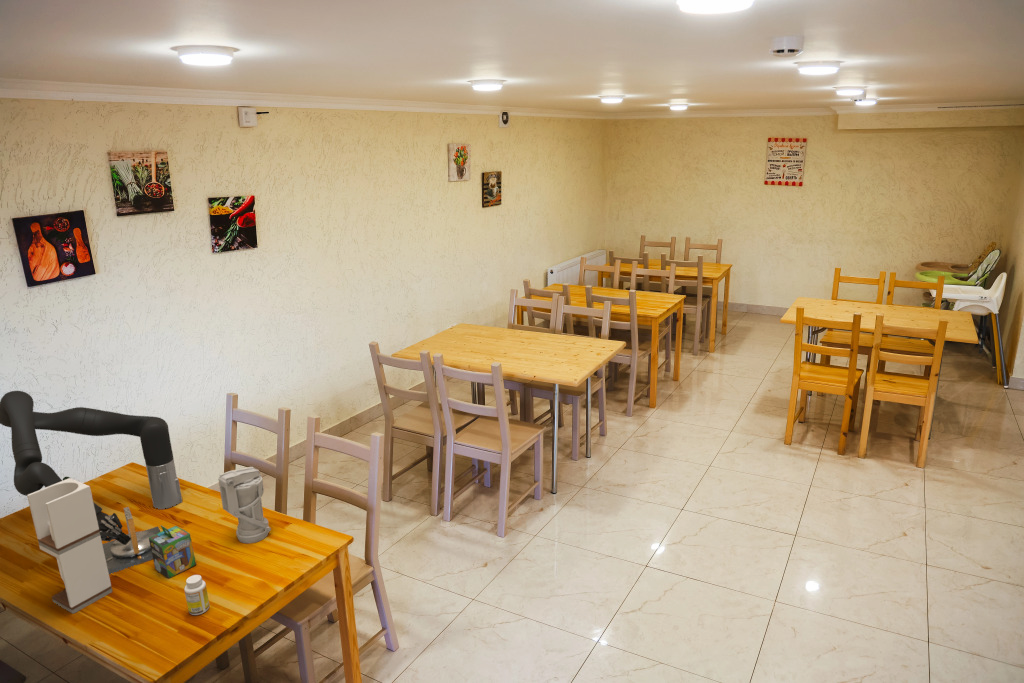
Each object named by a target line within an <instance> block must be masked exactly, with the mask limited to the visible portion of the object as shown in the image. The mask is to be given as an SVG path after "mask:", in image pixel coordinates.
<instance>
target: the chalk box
mask: <svg viewBox="0 0 1024 683" xmlns="http://www.w3.org/2000/svg"><path fill="white" fill-rule="evenodd" d="M160 528H161V529H162V531H161V532H159V533H158V534H156V535H154V536H151V537H149V542H150V547H151V551H152V556H153V559H152V560H153V565H154V569H155V570H156V571H157V572H158V573H160V574H161V575H163V576H164V577H165V578H167V579H168V580H169V579H171V578H173V577H175V576H176V575H179V574H181V573H182V572H184V571H186V570H188V569H190V568H192V567H194V566H196V565H197V561H196V557H195V552H194V548H193V543H192V538H191V537H192V536H191V533H190V532H188V531H186V530H185V529H183V528H182V527H179V526H177V525H175V526H172V527H169V528H166V527H165V526H163V525H162V524H161V525H160Z"/></svg>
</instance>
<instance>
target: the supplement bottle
mask: <svg viewBox="0 0 1024 683" xmlns="http://www.w3.org/2000/svg"><path fill="white" fill-rule="evenodd" d="M185 581H186V582H185V583H186V585H185V586H184V589H183V590H184V595H185V600H186V605H187V606H186V607H187V611H188V613H189V614H190V615H192V616H198V615H202V614H203V613H206V612H207V611H208V610H209V608H210V601H209V600H210V599H209V596H208V590H207V584H206V583H207V582H206V581H205V580H203V578H202V576H201V575H200V574H193V575H191V576H189V577H187V579H186V580H185Z"/></svg>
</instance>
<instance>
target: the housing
mask: <svg viewBox="0 0 1024 683" xmlns="http://www.w3.org/2000/svg"><path fill="white" fill-rule="evenodd" d="M144 531H148V532H152V533H154V534H155V535H156V534H158V533H159V532H162V531H161V530H160V528H159V526H155V527H151V528H148V529H145V530H144ZM115 541H116V539H114V540H111V541H107V542H106V543H105V542H104V543H102V545H103V550H104V554H105V559H106V564H107V568H108V573H109V575H112V574H114V572H115V573H117V572H120V571H123V570H126V569H128V567H129V568H132V567H134V565H135V566H138V565H140V564H144V563H146V562H150V561H152V560H153V556H152V551H151V549H149V550H148V551H146V552H144V553H141V554H139V555H136V556H132V557H123V558H122V557H116V556H114V555H112V552H111V545H112V544H113V543H114V542H115ZM131 566H132V567H131ZM125 568H126V569H125ZM119 570H120V571H119ZM111 573H112V574H111Z"/></svg>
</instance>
